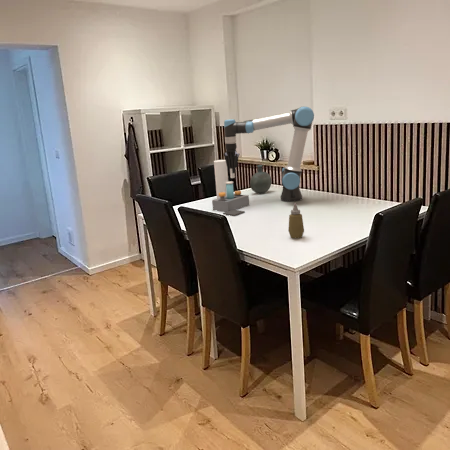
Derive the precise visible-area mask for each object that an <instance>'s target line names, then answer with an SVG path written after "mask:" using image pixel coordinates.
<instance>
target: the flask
mask: <svg viewBox="0 0 450 450" xmlns="http://www.w3.org/2000/svg"><path fill="white" fill-rule="evenodd" d="M256 167H257V169H256V170H257V172H255V173H254V174H253V175H252V176H251V178H250V180H249V186H250V190H252V191H253V192H254V193H255V194H264V193H267V192H268V191H269V190H270V188H271V186H272V182H273V181H272V177H271V174H269V173H267V172H266V171H263V170H264V169H263V168H262V167H263V165H262V164H259V165H256Z"/></svg>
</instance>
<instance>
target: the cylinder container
mask: <svg viewBox="0 0 450 450" xmlns="http://www.w3.org/2000/svg"><path fill="white" fill-rule="evenodd" d="M213 167H214V179H215V191H216V193H215V194H216V199H218V198H220V196H219V193H220V192H225V193H226V196H227V192H226V182H228V181H229V175H228V172H229V171H228V167H227V165H226V160H225V159H216V160H213Z"/></svg>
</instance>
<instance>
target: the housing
mask: <svg viewBox="0 0 450 450" xmlns="http://www.w3.org/2000/svg"><path fill="white" fill-rule="evenodd" d="M211 201H212V202H211V203H212V211H215V210H217V211H216V212H222V211H224V212H223V213H225V212H228V211H231V210H239V209H242V208H244V207H249V206H250V197H249V195H248V194H240V196H236V195H235V193H234V198H233V199H227V196H225V201H220V198H218V199H217V198H215V199H212V200H211Z"/></svg>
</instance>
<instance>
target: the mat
mask: <svg viewBox="0 0 450 450" xmlns="http://www.w3.org/2000/svg"><path fill="white" fill-rule="evenodd" d="M244 213H246V212H245V210H239V209H237V210H231V211H228V212H223V213H222V214H226V215H225V216H229V215H230V216H231V217H236V216H239V215H243V214H244Z"/></svg>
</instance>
